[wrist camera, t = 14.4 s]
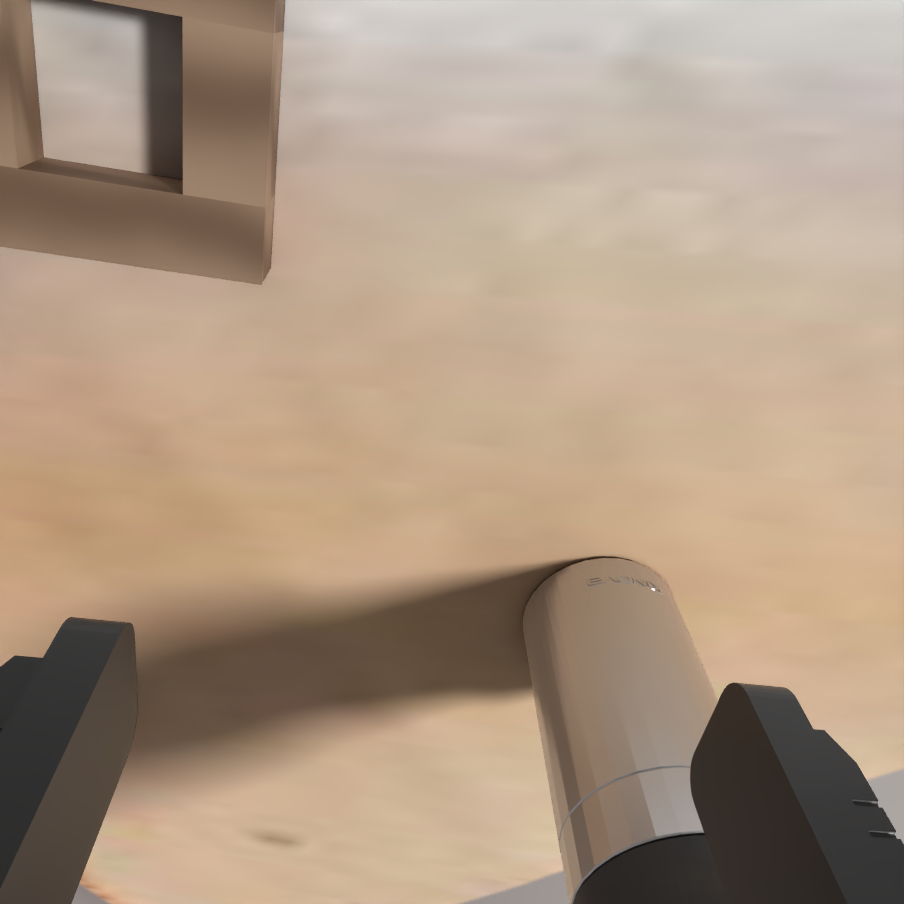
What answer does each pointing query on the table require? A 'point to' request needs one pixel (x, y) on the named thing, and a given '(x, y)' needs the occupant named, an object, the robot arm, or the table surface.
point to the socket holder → (148, 196)
